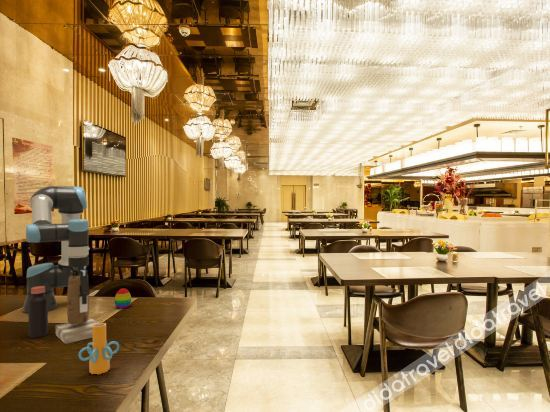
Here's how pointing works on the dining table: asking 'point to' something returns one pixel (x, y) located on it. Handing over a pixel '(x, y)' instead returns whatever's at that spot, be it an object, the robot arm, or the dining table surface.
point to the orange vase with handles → (99, 350)
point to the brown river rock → (75, 302)
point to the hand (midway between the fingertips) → (78, 309)
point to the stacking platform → (75, 331)
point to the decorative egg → (123, 299)
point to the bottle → (38, 312)
